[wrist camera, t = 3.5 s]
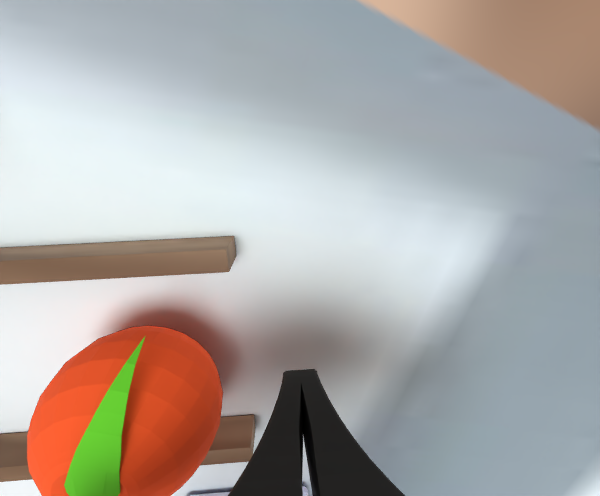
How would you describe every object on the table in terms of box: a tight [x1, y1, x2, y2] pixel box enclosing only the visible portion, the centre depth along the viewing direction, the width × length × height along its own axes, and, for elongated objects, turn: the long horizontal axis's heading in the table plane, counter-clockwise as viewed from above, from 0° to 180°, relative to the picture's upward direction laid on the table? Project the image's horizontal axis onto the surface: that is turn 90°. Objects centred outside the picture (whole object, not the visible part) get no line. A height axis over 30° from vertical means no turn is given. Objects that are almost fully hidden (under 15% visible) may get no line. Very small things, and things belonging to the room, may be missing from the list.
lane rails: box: [0, 236, 255, 482], centre depth 14 cm, size 12×22×2 cm, turn 92°
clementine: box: [27, 326, 223, 496], centre depth 12 cm, size 8×7×7 cm
